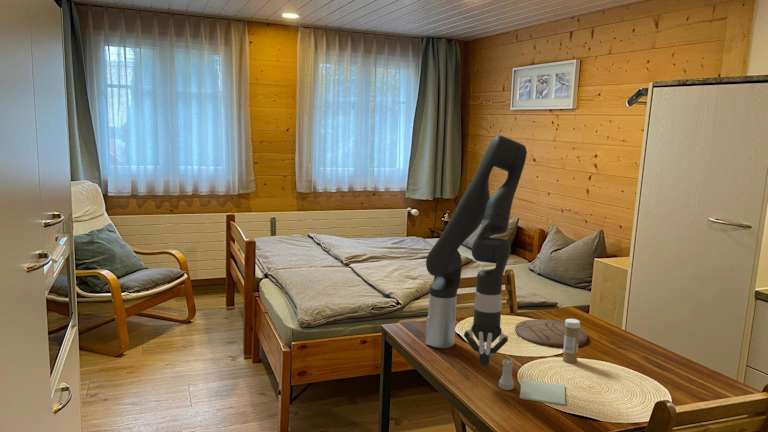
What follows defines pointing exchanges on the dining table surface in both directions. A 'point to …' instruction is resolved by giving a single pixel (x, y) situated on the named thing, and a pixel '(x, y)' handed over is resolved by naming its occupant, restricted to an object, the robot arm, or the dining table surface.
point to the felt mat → (542, 392)
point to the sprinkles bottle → (571, 340)
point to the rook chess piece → (507, 375)
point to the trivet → (546, 332)
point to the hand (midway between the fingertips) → (484, 365)
